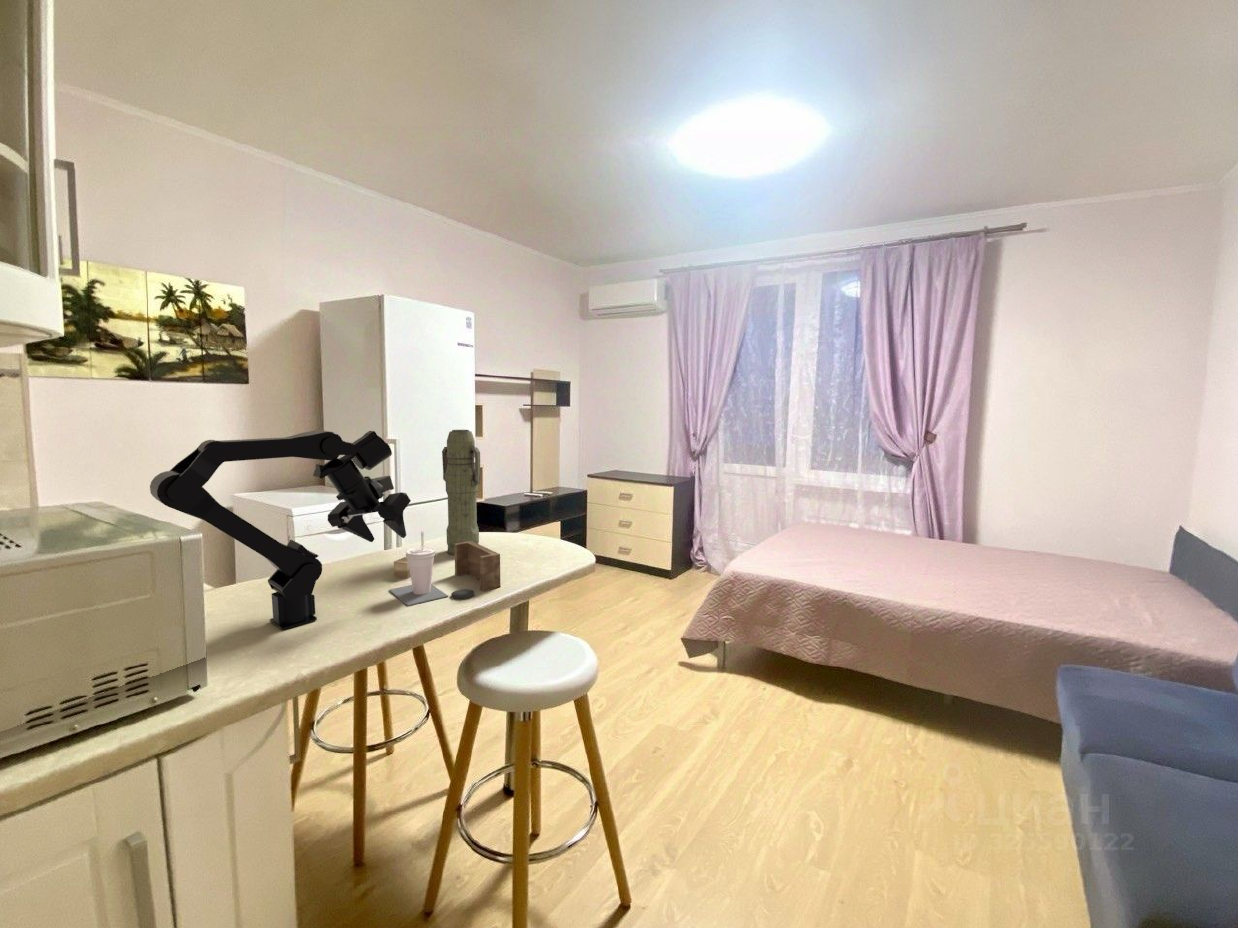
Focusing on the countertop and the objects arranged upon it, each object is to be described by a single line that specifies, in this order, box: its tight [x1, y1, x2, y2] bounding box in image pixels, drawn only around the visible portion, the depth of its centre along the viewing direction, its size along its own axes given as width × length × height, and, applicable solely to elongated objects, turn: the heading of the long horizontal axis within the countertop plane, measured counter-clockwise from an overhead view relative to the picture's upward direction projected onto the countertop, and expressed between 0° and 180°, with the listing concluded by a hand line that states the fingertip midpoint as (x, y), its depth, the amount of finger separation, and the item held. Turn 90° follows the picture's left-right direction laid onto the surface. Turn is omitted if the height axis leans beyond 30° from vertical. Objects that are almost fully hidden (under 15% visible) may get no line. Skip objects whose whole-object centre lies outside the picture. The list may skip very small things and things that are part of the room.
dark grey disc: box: [450, 588, 475, 601], centre depth 128 cm, size 5×5×1 cm
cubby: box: [454, 541, 501, 592], centre depth 138 cm, size 5×15×8 cm, turn 40°
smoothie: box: [405, 531, 436, 595], centre depth 128 cm, size 6×6×14 cm
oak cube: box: [393, 556, 411, 580], centre depth 141 cm, size 4×4×4 cm
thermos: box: [441, 429, 481, 556], centre depth 161 cm, size 9×12×35 cm
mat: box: [388, 583, 449, 607], centre depth 129 cm, size 9×12×1 cm
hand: (388, 538), depth 126 cm, fingers open, 9 cm apart
